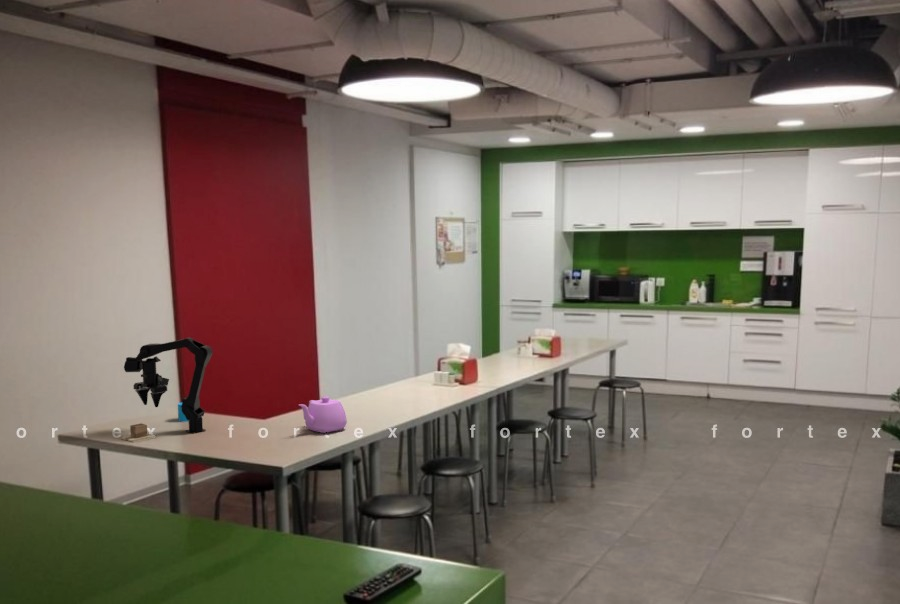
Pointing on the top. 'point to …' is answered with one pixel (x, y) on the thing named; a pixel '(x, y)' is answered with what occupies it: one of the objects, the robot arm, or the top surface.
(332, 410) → the teapot
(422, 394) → the top surface
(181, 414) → the mug
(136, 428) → the walnut cube
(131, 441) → the birch coaster
